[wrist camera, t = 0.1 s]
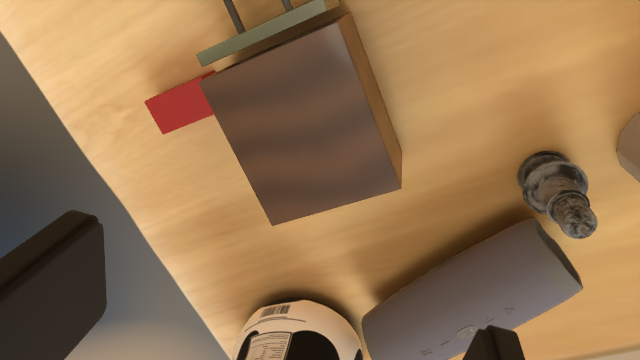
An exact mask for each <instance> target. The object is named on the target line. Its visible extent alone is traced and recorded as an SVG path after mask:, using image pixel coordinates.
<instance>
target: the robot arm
mask: <svg viewBox="0 0 640 360" xmlns="http://www.w3.org/2000/svg"><path fill="white" fill-rule="evenodd" d="M106 304H107V301H106V279H105V256H104V235H103V226H102V224H100V223H99V222H98V219H97V217H96V216H94V215H90V214H86V213H82V212H79V211H75V210H71V211H68V212H66V213H65V214H63V215H62V216H61V217H59V218H58V219H56V220H55V221H53V222H52V223H51V224H49V225H48V226H46V227H45V228H44V229H42V230H41V231H39V232H38V233H36V234H35V235H34V236H32V237H31V238H30V239H28V240H26V241H25V242H24V243H22V244H21V245H20V246H18V247H17V248H15V249H14V250H12V251H11V252H9V253H8V254H7V255H5V256H4V257H2V258H1V259H0V360H64V359H65V358H66V357H67V356H68V355H69V354H70V352H71V351H72V350H73V349H74V348H75V347H76V345H78V343H79V342H80V341H81V340H82V339H83V338H84V337H85V335H86V334H87V333H88V332H89V331H90V330H91V329H92V328H93V326H94V325H95V324H96V323H97V322H98V321H99V320H100V318H101V317H102V315H103V314H104V312H105V309H106ZM463 360H525V358H524V354H523V351H522V348H521V345H520V342H519V338H518V336H517V334H516V333H515V332H514V331H511V330H507V329H504V328H500V327H496V326H493V325H488V326H487V327H486V329H485V330H483V329H478V330H477V332H476V334H475V336H474V338H473V340H472V342H471V344H470V346H469V348H468V350H467V352H466V354H465V356H464V358H463Z"/></svg>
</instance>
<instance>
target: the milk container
mask: <svg viewBox="0 0 640 360" xmlns="http://www.w3.org/2000/svg"><path fill="white" fill-rule="evenodd" d="M233 360H363V354H362V347H361V343H360V340H359V338H358V336H357V334H356V332H355V330H354V329H353V328H352V326H351V325H350V324H349V322H348V321H347V320H346V319H345V318H344V317H343V316H342V315H340V314H339V313H337V312H336V311H334V310H333V309H331V308H330V307H328V306H326V305H323V304H320V303H317V302H314V301H311V300H307V299H294V298H287V299H282V300H278V301H274V302H271V303H269V304H267V305H265V306H263V307H262V308H260V309H259V310H257V311H256V312H255V313H254V314H253V315H252V316H251V317H250V319H249V320H248V321H247V323H246V324H245V325H244V327H243V329H242V330H241V332H240V334H239V336H238V338H237V341H236V344H235V347H234V353H233Z"/></svg>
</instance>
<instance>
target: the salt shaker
mask: <svg viewBox="0 0 640 360" xmlns="http://www.w3.org/2000/svg"><path fill="white" fill-rule="evenodd" d="M518 181H519V184H520V186H521V187H522V189H523V197H524V200H525V202H526V203H527V205H528V206H529V207H530V208H531V209H533V210H534V211H536V212H538V213H541V214H546V215H548V216H549V218H550V219H551V220H552V221H553V222H555V223H557V224H559V226H560V227H561V229H562V231H563V232H564V233H565V234H566V235H567V236H569V237H571V238H574V239H582V238H586V237H588V236H590V235H591V234H593V232H594V231H595V230H596V228H597V224H598V222H597V218H596V216H595V214H594V213H593V212H592V210H591V209H590V203H589V200H588V198H587V196H586V193H587V190H588V180H587V177H586V175H585V173H584V172H583V171H582V170H581V169H580V168H579V167H578V166H576V165H574V164H572V163H570V161H569V160H568V159H567V158H566V157H565V156H564V155H562V154H560V153H558V152H553V151H543V152H539V153H536V154H534V155H532V156H530V157H529V158H528V159H526V160H525V161H524V162H523V164H522V165H521V167H520V169H519V172H518Z"/></svg>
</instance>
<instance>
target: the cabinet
mask: <svg viewBox="0 0 640 360" xmlns="http://www.w3.org/2000/svg"><path fill="white" fill-rule="evenodd" d="M198 83H199V85H200V87H201V89H202V91H203V93H204V95H205V97H206V99H207V101H208V103H209V104H210V106H211V108H212V110H213V112H214V114H215V116H216V118H217V120H218V122H219V124H220V126H221V128H222V130H223V132H224V134H225V136H226V137H227V139H228V141H229V143H230V145H231V147H232V149H233V151H234V153H235V155H236V157H237V159H238V161H239V163H240V165H241V167H242V169H243V170H244V172H245V174H246V176H247V178H248V180H249V182H250V184H251V186H252V188H253V190H254V192H255V194H256V196H257V198H258V200H259V202H260V204H261V205H262V207H263V209H264V211H265V213H266V215H267V217H268V219H269V221H270V223H271V225H272V226H274V225H278V224H281V223H284V222H288V221H291V220H295V219H298V218H302V217H305V216H309V215H312V214H316V213H319V212H323V211H326V210H329V209H333V208H336V207H340V206H343V205H347V204H350V203H354V202H357V201H361V200H364V199H368V198H371V197H374V196H378V195H381V194H385V193H388V192H392V191H395V190H399V189H401V182H402V150H401V148H400V145H399V142H398V140H397V137H396V134H395V131H394V129H393V126H392V123H391V121H390V118H389V115H388V112H387V110H386V107H385V104H384V101H383V99H382V96H381V93H380V91H379V88H378V85H377V82H376V80H375V77H374V74H373V72H372V69H371V66H370V63H369V61H368V58H367V55H366V52H365V50H364V47H363V44H362V42H361V39H360V36H359V33H358V31H357V28H356V25H355V23H354V20H353V17H352V14H351V12H350V13H347V14H345V15H343V16H341V17H338V18H336V19H334V20H331V21H329V22H327V23H325V24H322V25H320V26H318V27H315V28H313V29H311V30H309V31H306V32H304V33H302V34H300V35H297V36H295V37H293V38H290V39H288V40H286V41H284V42H281V43H279V44H277V45H275V46H272V47H270V48H268V49H265V50H263V51H261V52H259V53H256V54H254V55H252V56H250V57H247V58H245V59H243V60H240V61H238V62H236V63H234V64H232V65H230V66H228V67H226V68H224V69H222V70H220V71H218V72H216V73H215V74H213V75H211V76H209V77H207V78H205V79H203V80H201V81H199V82H198Z"/></svg>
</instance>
